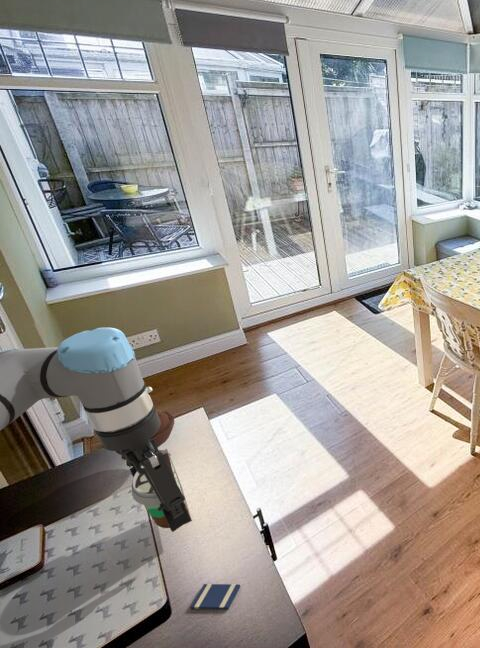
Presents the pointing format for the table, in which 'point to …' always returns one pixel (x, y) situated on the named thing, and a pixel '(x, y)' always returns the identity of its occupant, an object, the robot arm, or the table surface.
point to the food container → (148, 498)
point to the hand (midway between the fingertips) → (164, 506)
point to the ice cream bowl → (162, 428)
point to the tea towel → (215, 596)
